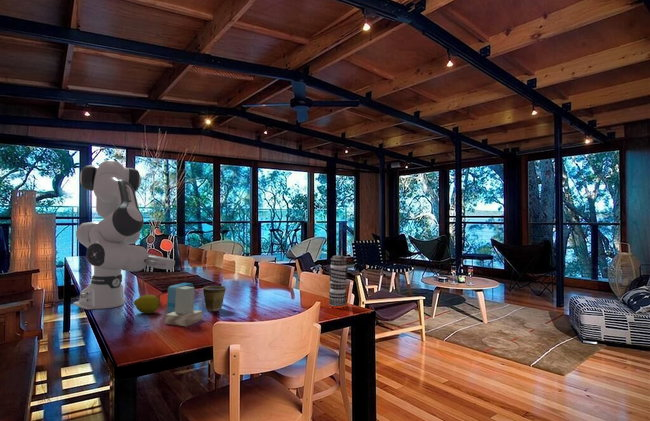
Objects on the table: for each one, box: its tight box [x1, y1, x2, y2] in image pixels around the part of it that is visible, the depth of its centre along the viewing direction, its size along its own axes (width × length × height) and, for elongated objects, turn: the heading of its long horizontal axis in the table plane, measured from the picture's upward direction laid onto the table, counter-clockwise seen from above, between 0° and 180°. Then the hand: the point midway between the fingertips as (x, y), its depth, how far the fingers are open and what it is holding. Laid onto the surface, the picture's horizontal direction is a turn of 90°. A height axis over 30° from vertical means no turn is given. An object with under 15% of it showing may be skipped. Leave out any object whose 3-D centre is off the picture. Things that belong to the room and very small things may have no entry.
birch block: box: [164, 309, 204, 327], centre depth 149 cm, size 10×10×4 cm
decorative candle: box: [328, 254, 348, 306], centre depth 182 cm, size 9×9×25 cm
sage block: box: [175, 286, 195, 315], centre depth 150 cm, size 5×5×10 cm
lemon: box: [133, 294, 160, 314], centre depth 160 cm, size 11×8×8 cm
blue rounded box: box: [166, 282, 195, 314], centre depth 165 cm, size 12×4×12 cm, turn 162°
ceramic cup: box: [202, 285, 226, 312], centre depth 171 cm, size 13×10×10 cm
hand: (163, 261), depth 142 cm, fingers open, 8 cm apart
